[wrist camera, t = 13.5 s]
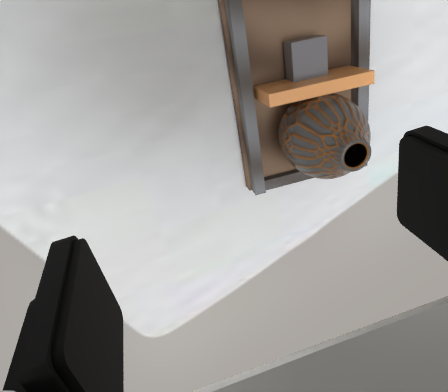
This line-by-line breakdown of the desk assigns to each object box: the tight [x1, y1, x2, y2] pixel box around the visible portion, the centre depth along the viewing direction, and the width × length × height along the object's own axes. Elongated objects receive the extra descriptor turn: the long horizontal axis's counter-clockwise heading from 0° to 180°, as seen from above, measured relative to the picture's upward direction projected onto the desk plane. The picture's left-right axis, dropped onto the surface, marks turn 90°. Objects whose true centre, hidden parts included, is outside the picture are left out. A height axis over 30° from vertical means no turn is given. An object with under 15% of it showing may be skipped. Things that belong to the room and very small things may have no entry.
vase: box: [278, 93, 371, 179], centre depth 30 cm, size 7×7×9 cm
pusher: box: [253, 35, 374, 108], centre depth 29 cm, size 4×9×4 cm, turn 99°
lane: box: [218, 0, 371, 195], centre depth 29 cm, size 22×12×6 cm, turn 10°
